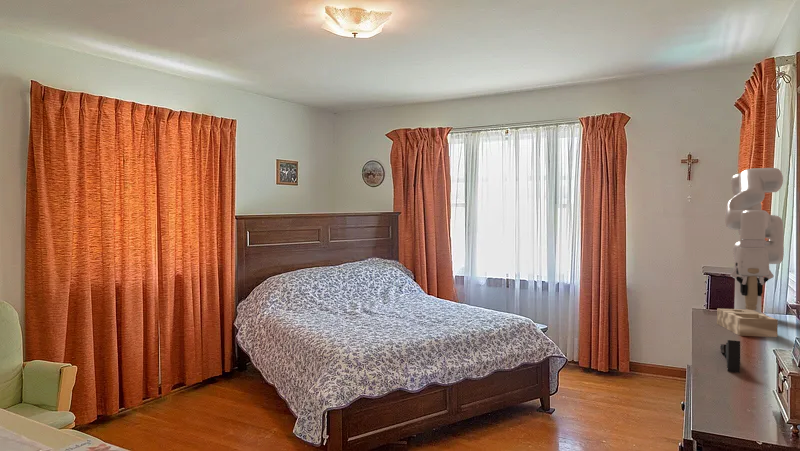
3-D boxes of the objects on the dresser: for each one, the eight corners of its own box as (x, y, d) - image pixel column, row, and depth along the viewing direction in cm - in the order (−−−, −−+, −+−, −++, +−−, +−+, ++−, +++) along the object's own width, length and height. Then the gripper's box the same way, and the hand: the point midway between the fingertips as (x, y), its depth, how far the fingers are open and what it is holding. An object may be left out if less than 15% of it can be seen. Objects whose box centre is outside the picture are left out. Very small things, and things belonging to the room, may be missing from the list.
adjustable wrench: (729, 368, 168) (740, 373, 145) (719, 367, 169) (728, 371, 147) (729, 341, 169) (740, 341, 147) (719, 340, 170) (728, 340, 148)
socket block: (716, 323, 211) (717, 308, 211) (750, 325, 209) (751, 309, 209) (739, 335, 191) (739, 318, 191) (777, 337, 189) (777, 319, 189)
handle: (759, 309, 197) (760, 267, 197) (758, 311, 192) (759, 269, 192) (743, 307, 200) (744, 266, 200) (742, 309, 195) (743, 268, 194)
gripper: (772, 244, 198) (771, 294, 198) (722, 243, 201) (721, 293, 201) (783, 245, 190) (782, 297, 191) (731, 244, 193) (730, 296, 194)
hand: (751, 294), depth 196 cm, fingers closed on handle, 3 cm apart
